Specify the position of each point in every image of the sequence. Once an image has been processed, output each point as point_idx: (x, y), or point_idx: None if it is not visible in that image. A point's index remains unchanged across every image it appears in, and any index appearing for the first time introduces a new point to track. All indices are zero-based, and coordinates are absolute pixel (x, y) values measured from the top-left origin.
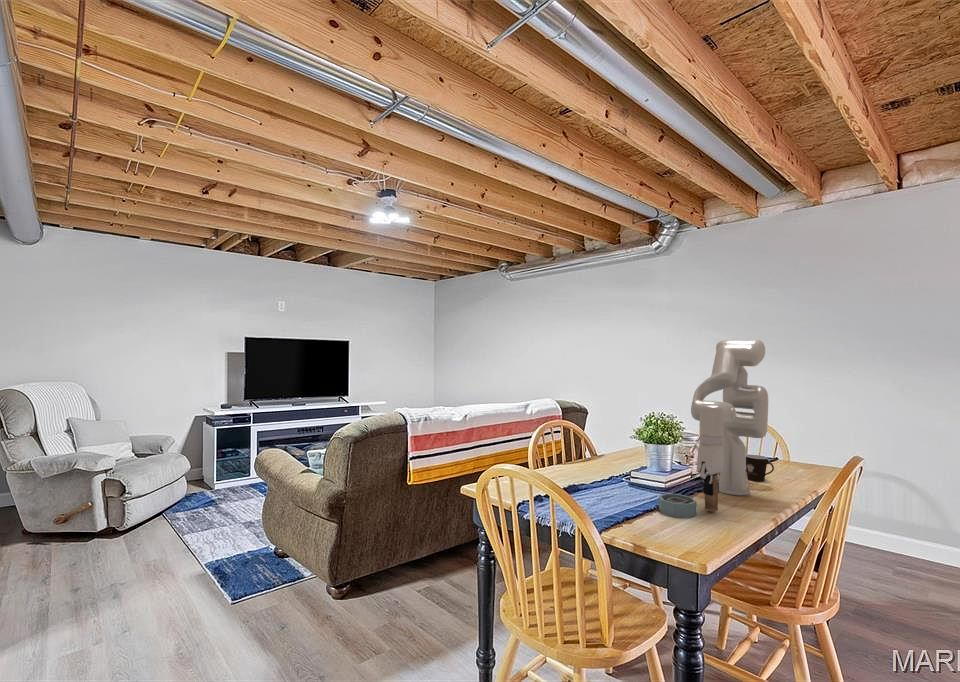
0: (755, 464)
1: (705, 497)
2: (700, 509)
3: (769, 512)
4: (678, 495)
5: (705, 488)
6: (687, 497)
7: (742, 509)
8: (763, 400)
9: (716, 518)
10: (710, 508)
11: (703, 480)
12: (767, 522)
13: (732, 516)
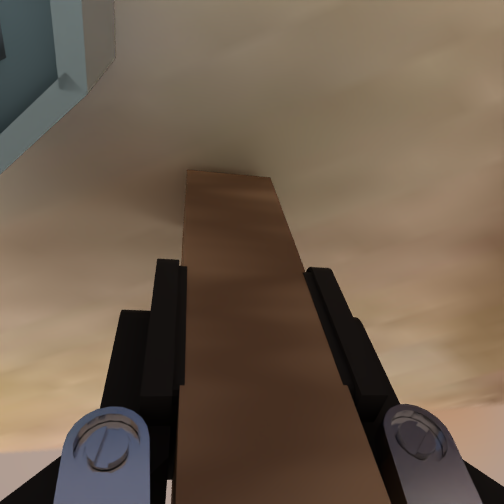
0: None
1: (184, 238)
2: (228, 102)
3: (465, 384)
4: None
5: (116, 352)
6: (55, 13)
7: (445, 299)
8: None
9: (108, 276)
10: (183, 230)
11: (16, 493)
12: None
13: None
